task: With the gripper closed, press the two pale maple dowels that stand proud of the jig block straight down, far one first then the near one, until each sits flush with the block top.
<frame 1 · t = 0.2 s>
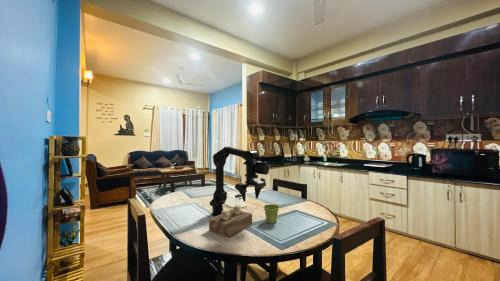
hand: (250, 200, 116), 14 cm above the table, fingers open, 9 cm apart
peg near: (225, 216, 108), point 7 cm above the table, slide at 4.0 cm
peg far: (237, 211, 116), point 7 cm above the table, slide at 4.0 cm
jig block: (231, 227, 112), on the table
plant pot: (271, 221, 120), on the table
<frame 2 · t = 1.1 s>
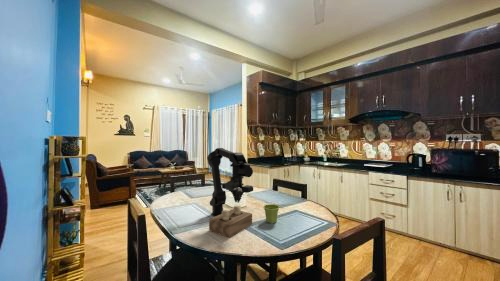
hand: (237, 202, 116), 13 cm above the table, fingers closed
nothing on the table moved.
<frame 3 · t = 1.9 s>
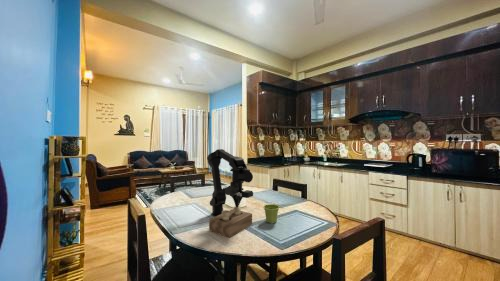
hand: (237, 207, 116), 10 cm above the table, fingers closed, pressing on peg far
peg far: (237, 211, 116), point 7 cm above the table, slide at 3.7 cm, touching gripper
everything else where it was.
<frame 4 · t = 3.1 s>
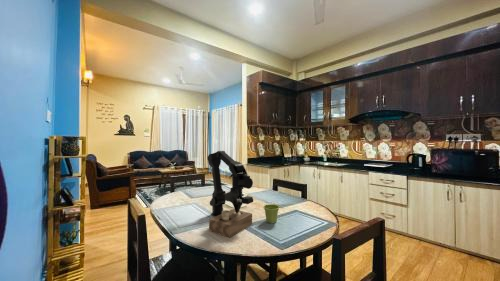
hand: (237, 212, 116), 6 cm above the table, fingers closed
peg far: (237, 217, 116), point 4 cm above the table, slide at 0.3 cm
everything else where it was.
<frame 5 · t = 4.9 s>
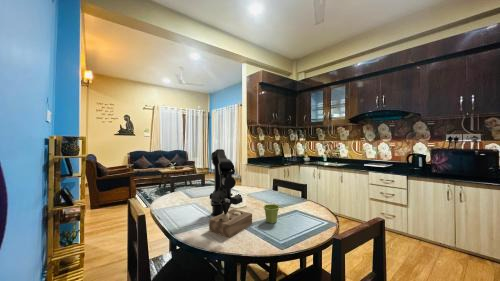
hand: (225, 214, 108), 9 cm above the table, fingers closed, pressing on peg near
peg near: (225, 218, 108), point 6 cm above the table, slide at 2.7 cm, touching gripper
everything else where it was.
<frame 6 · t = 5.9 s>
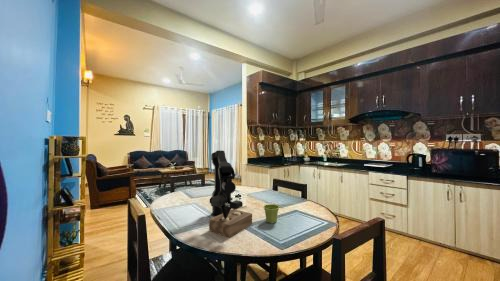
hand: (225, 218, 108), 6 cm above the table, fingers closed
peg near: (225, 223, 108), point 4 cm above the table, slide at 0.3 cm
everything else where it was.
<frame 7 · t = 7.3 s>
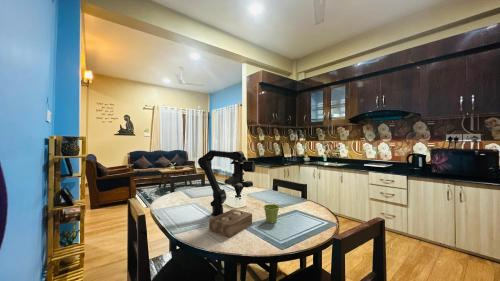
hand: (238, 196, 126), 13 cm above the table, fingers closed
nothing on the table moved.
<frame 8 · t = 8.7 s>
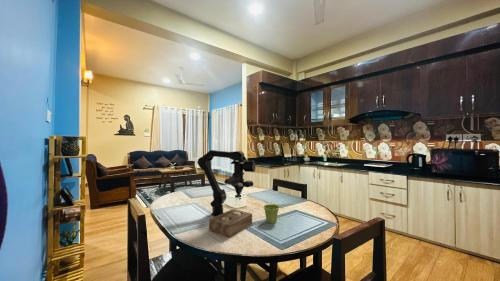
hand: (238, 196, 127), 13 cm above the table, fingers closed
nothing on the table moved.
at the end: peg far slide at 0.3 cm; peg near slide at 0.3 cm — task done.
